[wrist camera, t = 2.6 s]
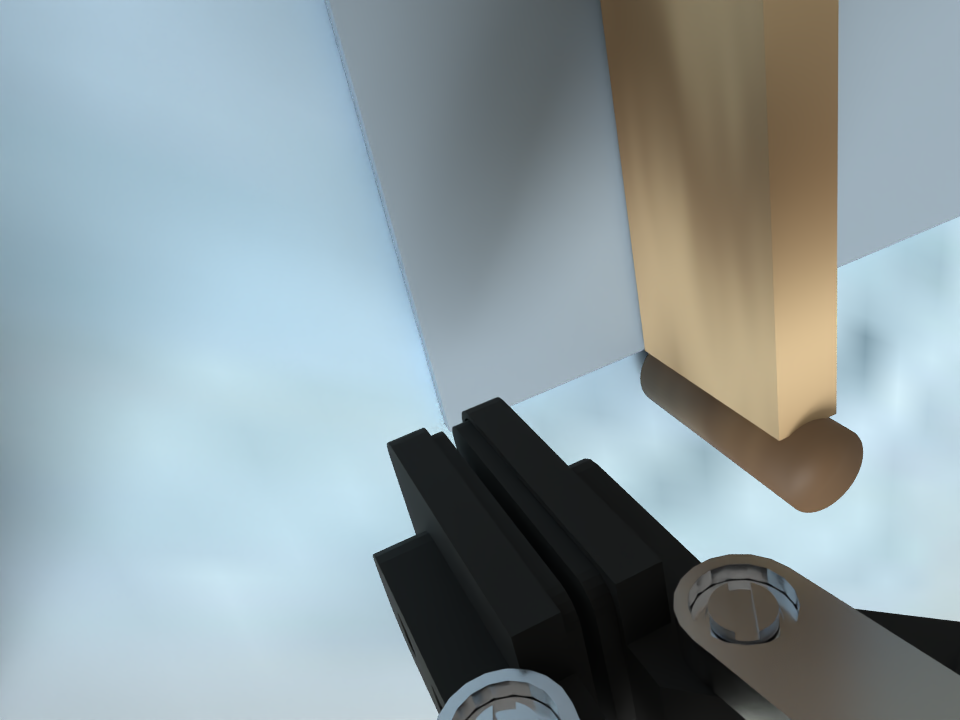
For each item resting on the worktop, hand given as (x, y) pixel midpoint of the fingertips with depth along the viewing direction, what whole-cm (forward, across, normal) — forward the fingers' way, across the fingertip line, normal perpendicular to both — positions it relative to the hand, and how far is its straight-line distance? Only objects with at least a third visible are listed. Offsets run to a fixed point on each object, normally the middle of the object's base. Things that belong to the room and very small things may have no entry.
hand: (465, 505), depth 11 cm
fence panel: (+4, -6, -2) cm, 8 cm away
